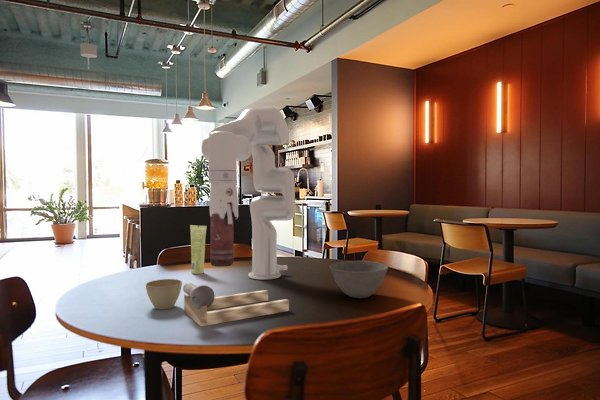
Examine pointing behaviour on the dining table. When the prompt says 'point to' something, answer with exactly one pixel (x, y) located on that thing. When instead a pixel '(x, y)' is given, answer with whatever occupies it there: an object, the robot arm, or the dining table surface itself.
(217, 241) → the can
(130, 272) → the dining table surface
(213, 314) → the bay
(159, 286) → the flower pot
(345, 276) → the bowl
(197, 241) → the tube
